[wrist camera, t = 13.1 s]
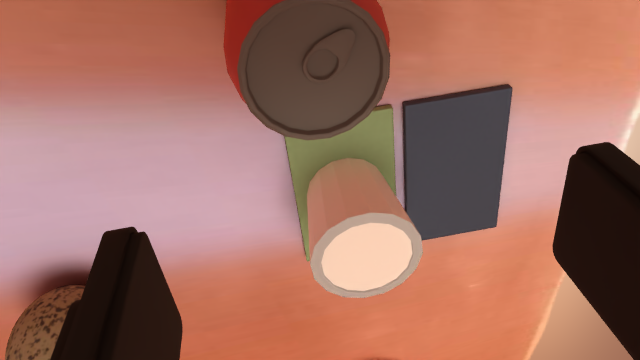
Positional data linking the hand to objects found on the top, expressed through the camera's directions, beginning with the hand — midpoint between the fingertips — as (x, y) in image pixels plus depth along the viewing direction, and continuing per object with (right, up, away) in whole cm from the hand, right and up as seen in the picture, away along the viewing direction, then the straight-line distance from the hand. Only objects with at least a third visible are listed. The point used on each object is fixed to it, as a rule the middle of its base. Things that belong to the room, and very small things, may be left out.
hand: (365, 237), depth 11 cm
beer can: (-3, +12, +17) cm, 21 cm away
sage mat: (+1, +1, +25) cm, 25 cm away
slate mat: (+9, +2, +25) cm, 27 cm away
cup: (+1, +1, +24) cm, 24 cm away
